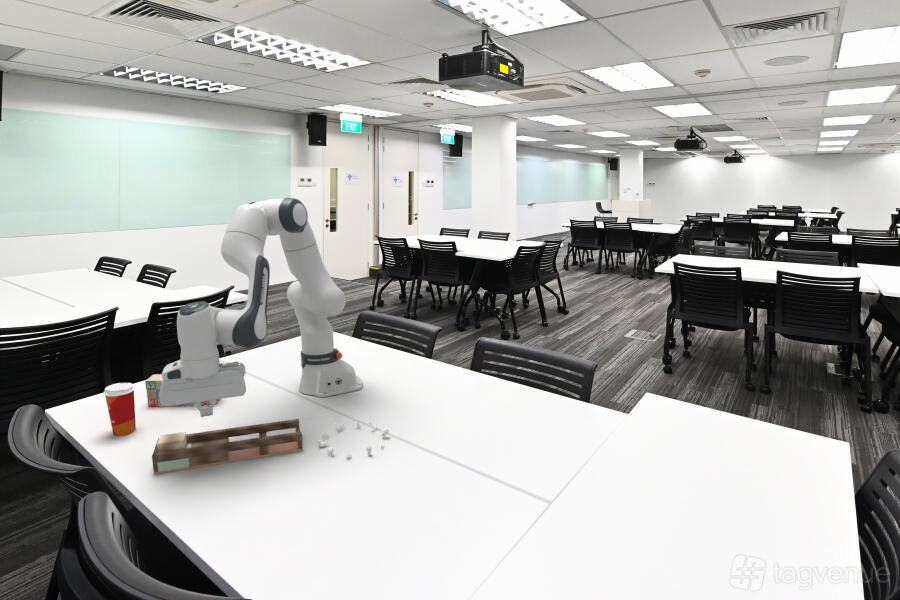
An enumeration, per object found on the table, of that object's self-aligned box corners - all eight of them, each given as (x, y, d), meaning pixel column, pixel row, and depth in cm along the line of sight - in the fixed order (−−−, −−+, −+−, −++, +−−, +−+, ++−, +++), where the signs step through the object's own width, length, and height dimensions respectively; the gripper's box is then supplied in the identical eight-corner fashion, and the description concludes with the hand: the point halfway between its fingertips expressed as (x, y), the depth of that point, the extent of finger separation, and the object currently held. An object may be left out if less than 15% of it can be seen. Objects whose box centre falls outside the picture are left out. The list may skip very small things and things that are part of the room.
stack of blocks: (147, 407, 167) (143, 372, 165) (156, 400, 173) (152, 365, 171) (215, 405, 169) (212, 370, 167) (222, 398, 175) (219, 364, 173)
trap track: (299, 434, 150) (298, 418, 149) (302, 450, 141) (301, 433, 140) (160, 455, 137) (158, 438, 136) (154, 474, 128) (151, 456, 127)
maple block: (187, 445, 137) (185, 431, 136) (185, 454, 132) (183, 440, 131) (161, 449, 134) (160, 435, 134) (158, 458, 130) (157, 443, 129)
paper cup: (118, 425, 154) (112, 382, 151) (144, 425, 154) (139, 381, 152) (103, 438, 146) (96, 392, 143) (131, 437, 147) (125, 391, 144)
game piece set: (390, 427, 156) (390, 416, 155) (384, 461, 136) (384, 448, 136) (326, 428, 155) (325, 416, 154) (311, 462, 136) (310, 448, 135)
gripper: (244, 356, 138) (249, 404, 141) (158, 366, 131) (165, 416, 134) (244, 364, 132) (249, 413, 136) (154, 375, 125) (162, 427, 128)
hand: (207, 415), depth 135 cm, fingers closed
